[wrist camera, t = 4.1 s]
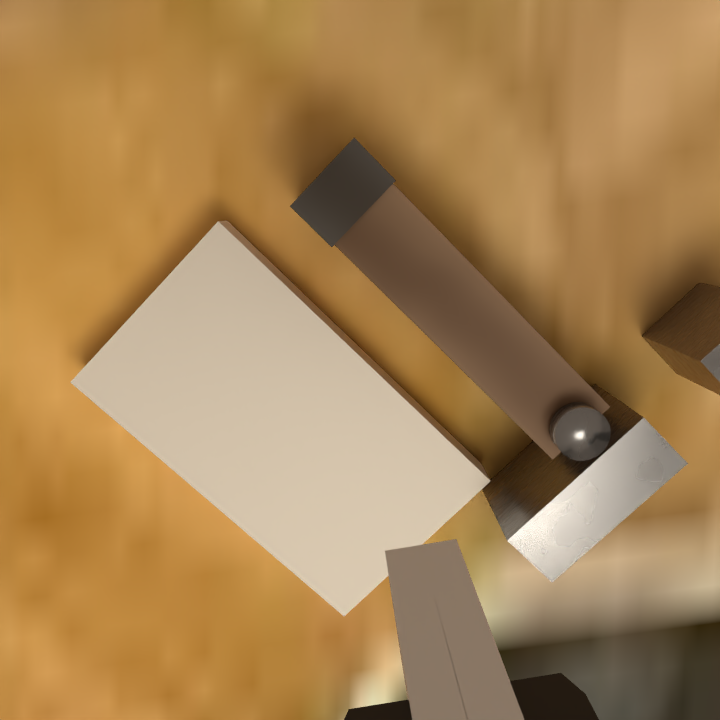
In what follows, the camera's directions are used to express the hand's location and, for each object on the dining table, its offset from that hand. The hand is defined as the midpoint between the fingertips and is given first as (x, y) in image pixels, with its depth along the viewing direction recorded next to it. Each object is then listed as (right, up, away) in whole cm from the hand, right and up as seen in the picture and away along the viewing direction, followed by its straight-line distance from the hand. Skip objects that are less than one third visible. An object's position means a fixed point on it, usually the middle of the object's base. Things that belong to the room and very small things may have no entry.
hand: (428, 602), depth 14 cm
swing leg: (+3, +9, +21) cm, 23 cm away
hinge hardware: (+11, +3, +22) cm, 25 cm away
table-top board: (-5, +2, +22) cm, 23 cm away
